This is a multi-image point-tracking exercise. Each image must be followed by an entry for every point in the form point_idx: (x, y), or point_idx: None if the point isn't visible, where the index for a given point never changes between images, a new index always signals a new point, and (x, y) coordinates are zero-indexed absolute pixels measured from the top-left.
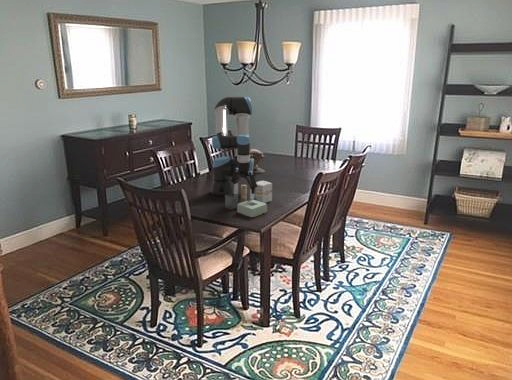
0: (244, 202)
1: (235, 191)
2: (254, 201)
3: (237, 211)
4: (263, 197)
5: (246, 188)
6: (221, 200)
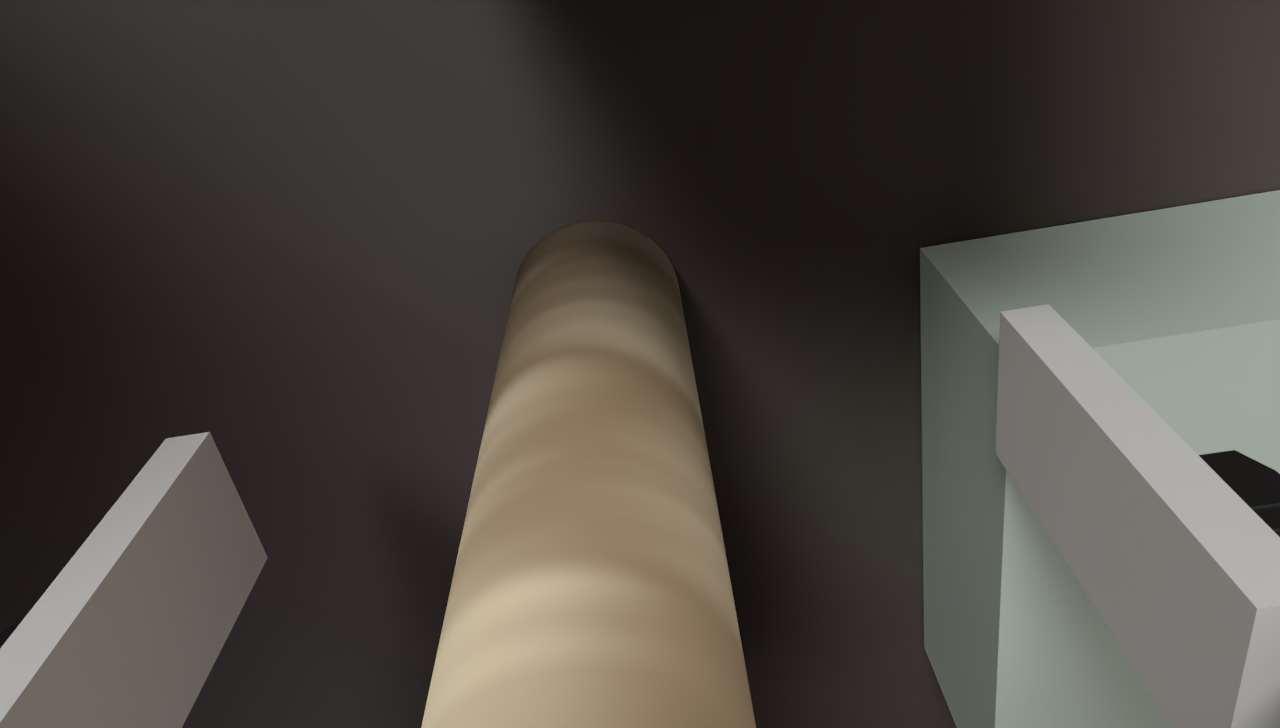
0: (1042, 658)
1: (216, 619)
2: (1227, 423)
3: (933, 661)
4: None
5: (736, 629)
6: (3, 555)
